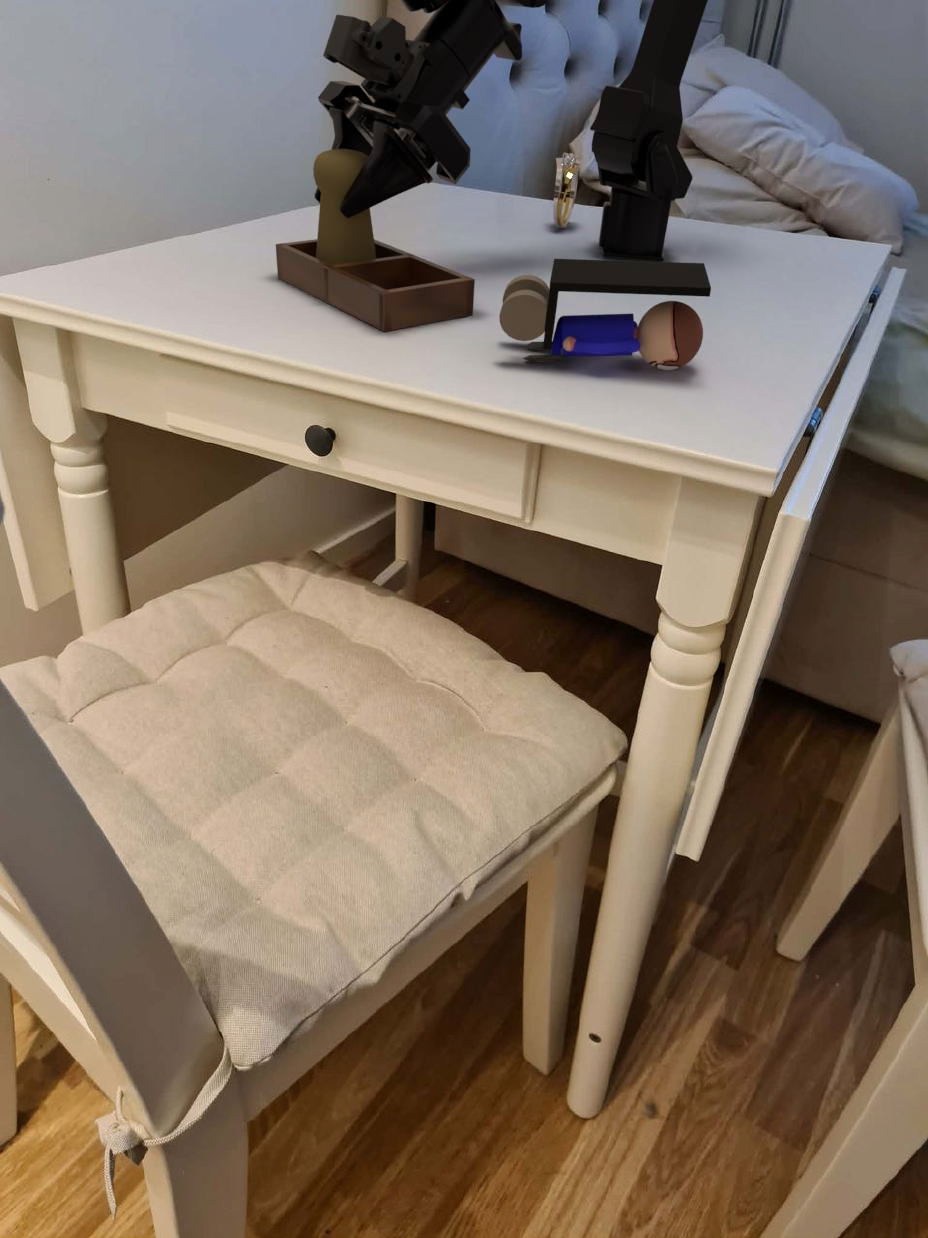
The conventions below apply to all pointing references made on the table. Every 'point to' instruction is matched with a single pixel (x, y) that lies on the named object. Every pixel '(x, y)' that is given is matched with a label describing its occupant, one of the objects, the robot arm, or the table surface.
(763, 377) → the table surface
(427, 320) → the frame
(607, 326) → the figurine character
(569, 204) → the ring
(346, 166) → the cork
